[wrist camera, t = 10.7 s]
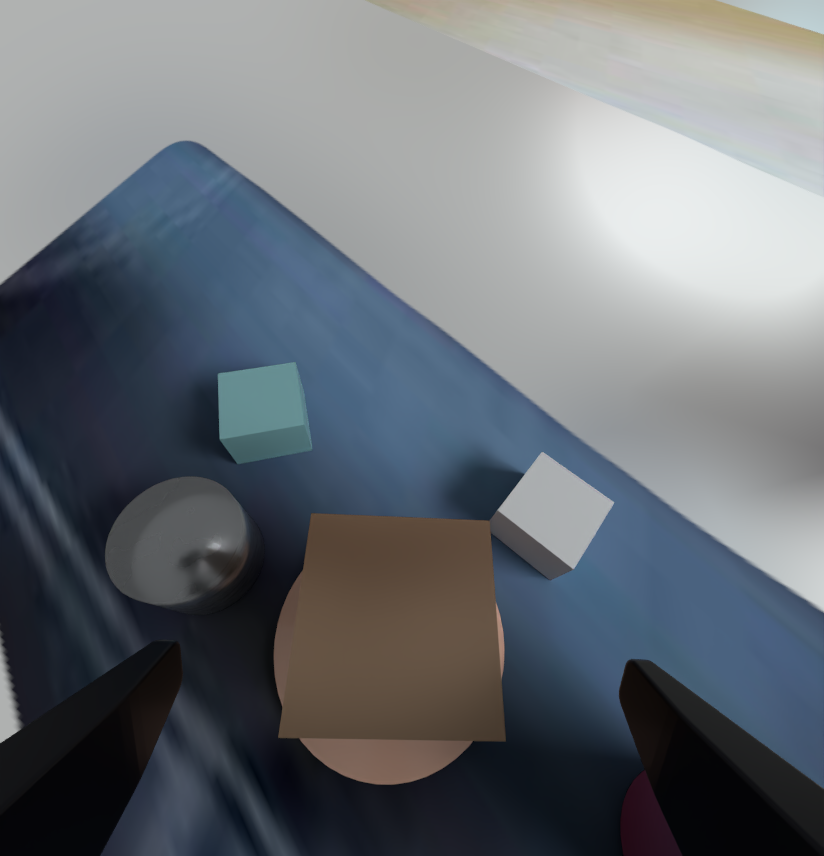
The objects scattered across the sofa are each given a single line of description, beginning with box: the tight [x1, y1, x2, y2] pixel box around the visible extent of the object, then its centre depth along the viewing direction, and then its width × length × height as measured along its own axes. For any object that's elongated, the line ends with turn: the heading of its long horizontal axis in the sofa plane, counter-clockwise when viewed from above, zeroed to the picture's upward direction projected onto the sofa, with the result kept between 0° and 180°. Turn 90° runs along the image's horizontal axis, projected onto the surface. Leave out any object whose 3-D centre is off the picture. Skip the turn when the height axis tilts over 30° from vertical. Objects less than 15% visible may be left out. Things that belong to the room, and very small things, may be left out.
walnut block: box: [278, 513, 506, 741], centre depth 13 cm, size 4×4×10 cm
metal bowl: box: [105, 477, 265, 615], centre depth 18 cm, size 5×5×4 cm
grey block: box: [490, 452, 614, 580], centre depth 20 cm, size 4×4×3 cm
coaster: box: [274, 571, 504, 785], centre depth 18 cm, size 10×10×1 cm
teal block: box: [218, 362, 313, 464], centre depth 22 cm, size 4×4×3 cm
